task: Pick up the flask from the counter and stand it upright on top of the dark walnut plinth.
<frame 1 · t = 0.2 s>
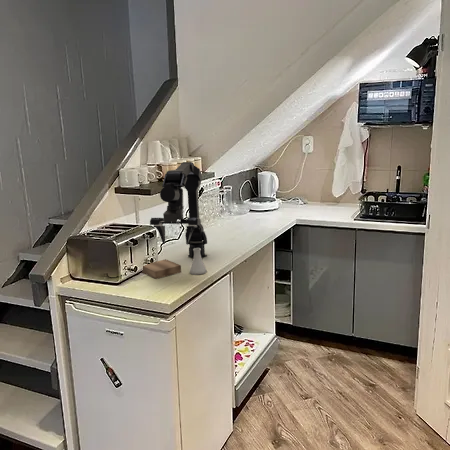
hand: (175, 244, 174), 15 cm above the worktop, tool pointing down, fingers open, 9 cm apart
flask: (198, 272, 187), on the worktop
walnut plinth: (161, 272, 189), on the worktop
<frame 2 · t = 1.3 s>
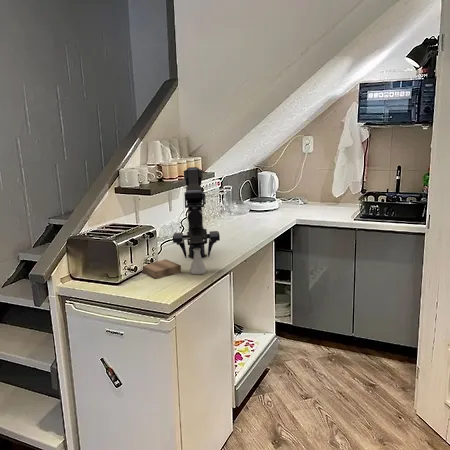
hand: (197, 257, 186), 6 cm above the worktop, tool pointing down, fingers open, 9 cm apart
nothing on the worktop moved.
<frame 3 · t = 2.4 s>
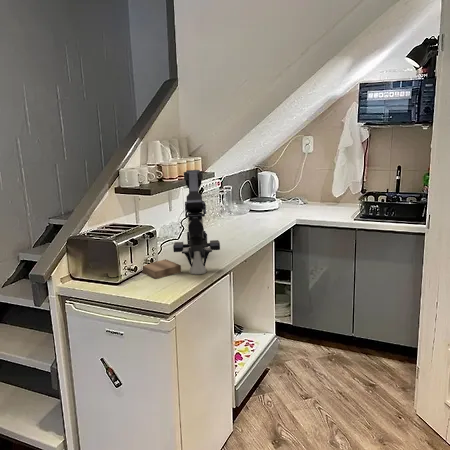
hand: (197, 266, 187), 3 cm above the worktop, tool pointing down, fingers closed on flask, 5 cm apart
flask: (198, 272, 187), on the worktop, touching gripper
everything else where it was.
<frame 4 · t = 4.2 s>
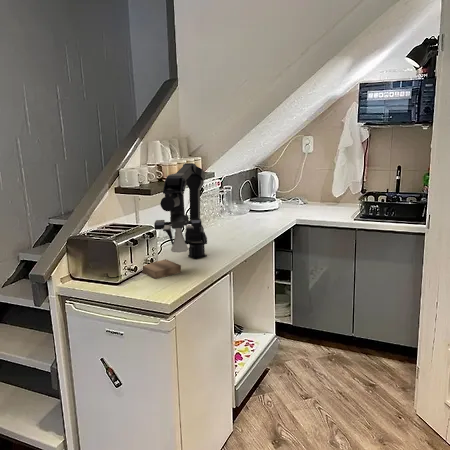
hand: (179, 244, 185), 12 cm above the worktop, tool pointing down, fingers closed on flask, 5 cm apart
flask: (179, 251, 186), point 9 cm above the worktop, touching gripper
everything else where it was.
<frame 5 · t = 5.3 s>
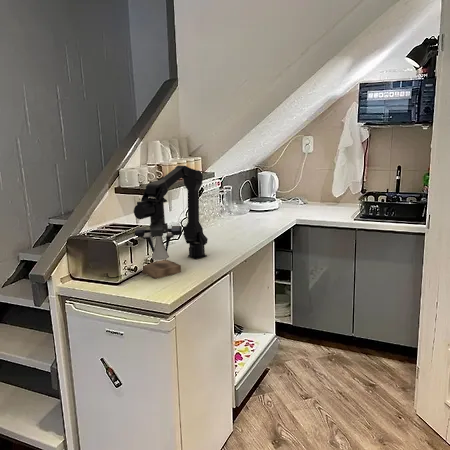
hand: (160, 251, 187), 9 cm above the worktop, tool pointing down, fingers closed on flask, 5 cm apart
flask: (160, 258, 188), point 6 cm above the worktop, touching gripper
everything else where it was.
when the fingers open (7 cm above the worktop, at t = 6.0 s): flask drops 1 cm, resting on walnut plinth.
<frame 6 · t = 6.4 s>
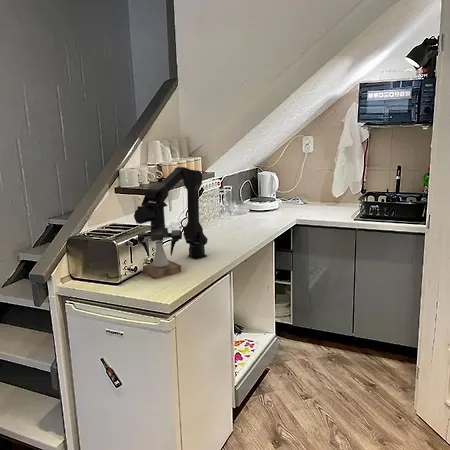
hand: (160, 256, 188), 7 cm above the worktop, tool pointing down, fingers open, 9 cm apart
flask: (160, 265, 188), point 3 cm above the worktop, touching walnut plinth
everything else where it was.
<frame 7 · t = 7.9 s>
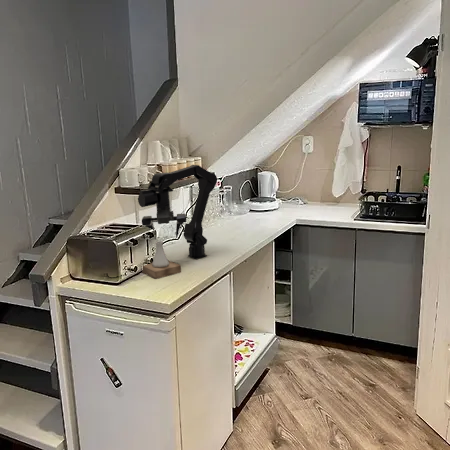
hand: (166, 238, 197), 12 cm above the worktop, tool pointing down, fingers open, 9 cm apart
nothing on the worktop moved.
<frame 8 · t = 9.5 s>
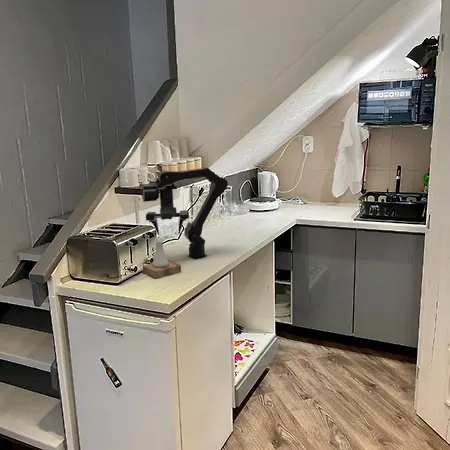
hand: (168, 234, 203), 12 cm above the worktop, tool pointing down, fingers open, 9 cm apart
nothing on the worktop moved.
at the end: flask inside the target area on the walnut plinth (0.0 cm from its centre), point 2.8 cm above the walnut plinth's base; flask tilted 0°; the gripper is holding nothing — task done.
